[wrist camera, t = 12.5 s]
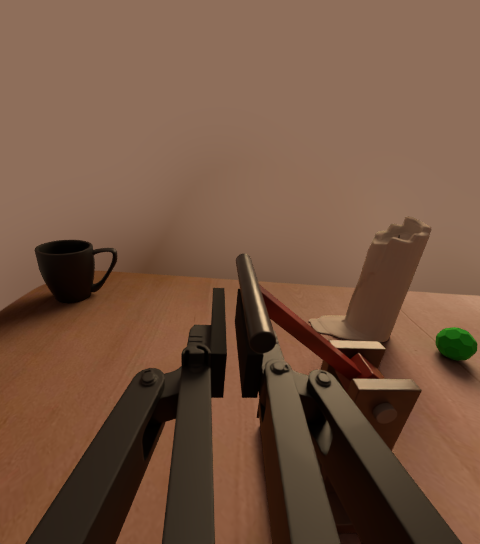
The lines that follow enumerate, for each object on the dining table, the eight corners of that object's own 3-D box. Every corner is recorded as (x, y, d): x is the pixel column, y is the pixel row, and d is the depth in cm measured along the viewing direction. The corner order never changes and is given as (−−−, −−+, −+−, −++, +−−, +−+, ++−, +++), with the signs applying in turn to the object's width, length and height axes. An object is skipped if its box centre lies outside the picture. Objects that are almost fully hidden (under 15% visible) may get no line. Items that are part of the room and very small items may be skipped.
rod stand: (277, 537, 19) (311, 419, 14) (260, 423, 27) (277, 323, 22) (424, 529, 20) (505, 418, 15) (365, 423, 29) (405, 328, 24)
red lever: (234, 353, 11) (273, 317, 11) (227, 266, 20) (248, 244, 20) (402, 467, 16) (436, 446, 15) (335, 354, 25) (355, 338, 24)
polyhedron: (456, 348, 43) (469, 324, 41) (476, 369, 39) (491, 344, 37) (425, 343, 44) (436, 319, 42) (441, 363, 39) (454, 338, 37)
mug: (119, 302, 47) (114, 253, 43) (39, 309, 42) (26, 255, 39) (121, 282, 54) (117, 239, 50) (53, 287, 49) (43, 239, 46)
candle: (305, 314, 49) (329, 207, 41) (376, 319, 49) (413, 215, 41) (316, 338, 42) (347, 216, 34) (398, 344, 43) (447, 225, 35)
